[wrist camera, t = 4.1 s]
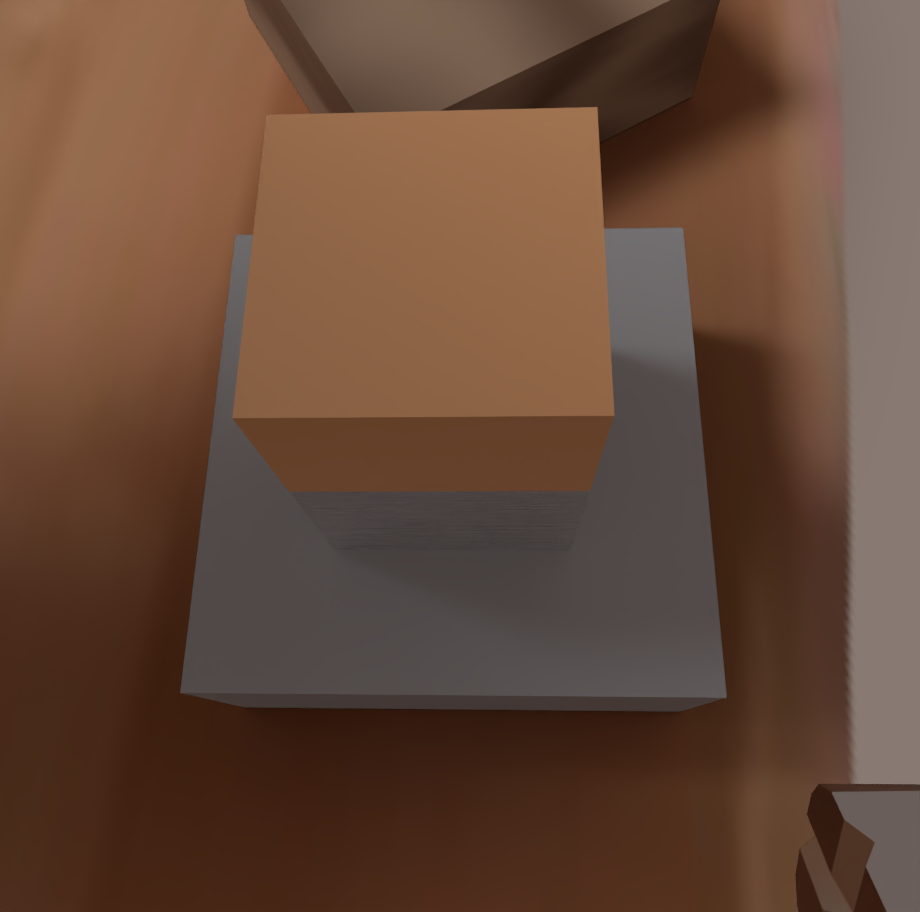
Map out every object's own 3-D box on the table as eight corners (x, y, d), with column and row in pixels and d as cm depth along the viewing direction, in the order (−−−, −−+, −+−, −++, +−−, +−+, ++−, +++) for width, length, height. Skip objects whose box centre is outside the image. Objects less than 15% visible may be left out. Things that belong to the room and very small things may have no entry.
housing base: (333, 550, 20) (289, 491, 16) (347, 340, 22) (310, 237, 17) (570, 550, 19) (589, 490, 15) (563, 338, 21) (579, 233, 17)
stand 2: (244, 707, 23) (179, 692, 19) (280, 325, 28) (235, 234, 23) (680, 711, 23) (726, 697, 18) (651, 320, 27) (682, 227, 22)
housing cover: (289, 491, 16) (232, 418, 12) (310, 237, 17) (267, 115, 14) (589, 490, 15) (614, 415, 12) (578, 233, 17) (597, 106, 14)
